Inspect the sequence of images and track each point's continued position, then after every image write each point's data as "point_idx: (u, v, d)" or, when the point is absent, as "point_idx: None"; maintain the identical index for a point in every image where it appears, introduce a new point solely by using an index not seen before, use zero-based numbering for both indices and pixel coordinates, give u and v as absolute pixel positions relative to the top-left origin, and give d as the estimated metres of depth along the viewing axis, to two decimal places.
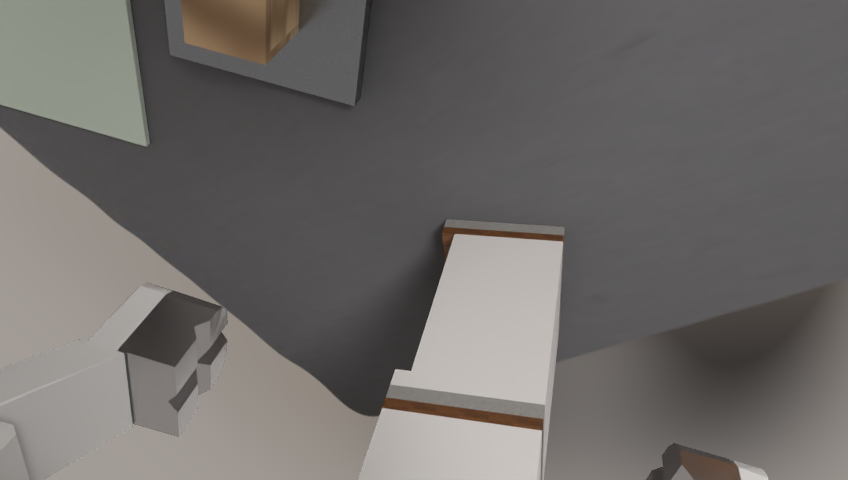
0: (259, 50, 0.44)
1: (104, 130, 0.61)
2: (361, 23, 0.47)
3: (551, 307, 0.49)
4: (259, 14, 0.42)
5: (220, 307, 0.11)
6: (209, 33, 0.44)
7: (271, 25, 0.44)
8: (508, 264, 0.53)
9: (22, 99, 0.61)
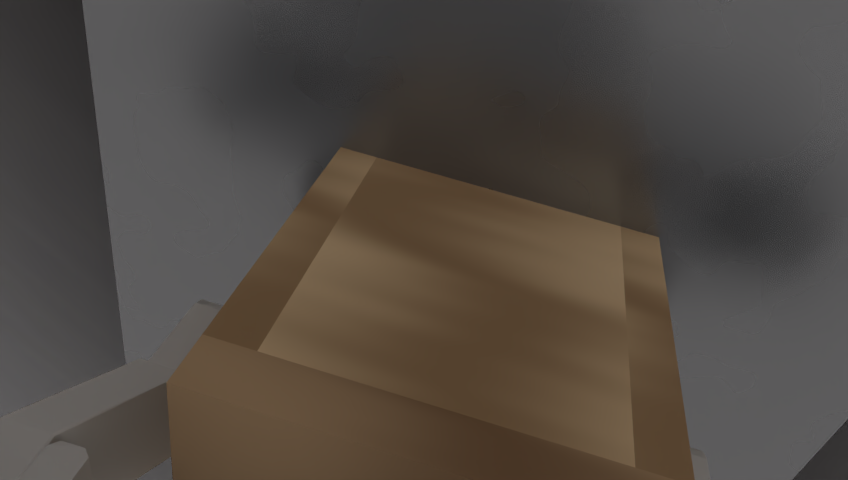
0: None
1: None
2: None
3: None
4: (374, 473, 0.07)
5: None
6: None
7: (483, 411, 0.08)
8: None
9: None
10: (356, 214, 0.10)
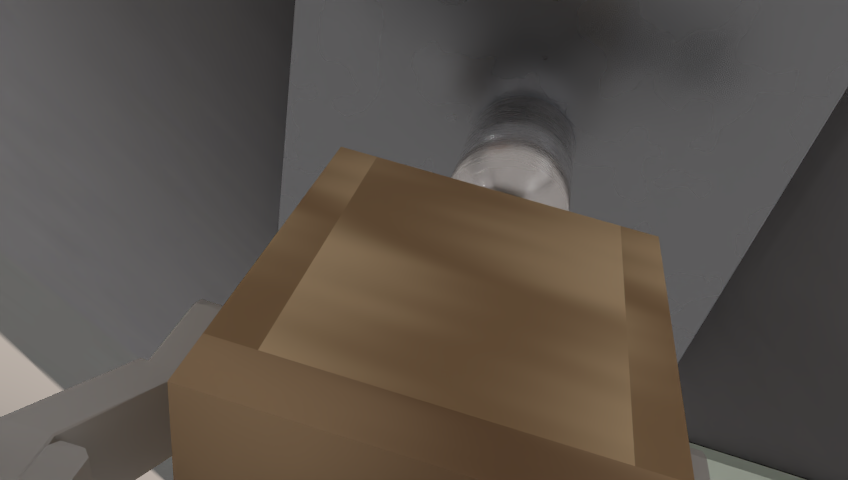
0: None
1: None
2: None
3: None
4: (374, 471, 0.07)
5: None
6: None
7: (484, 410, 0.08)
8: None
9: None
10: (356, 213, 0.10)
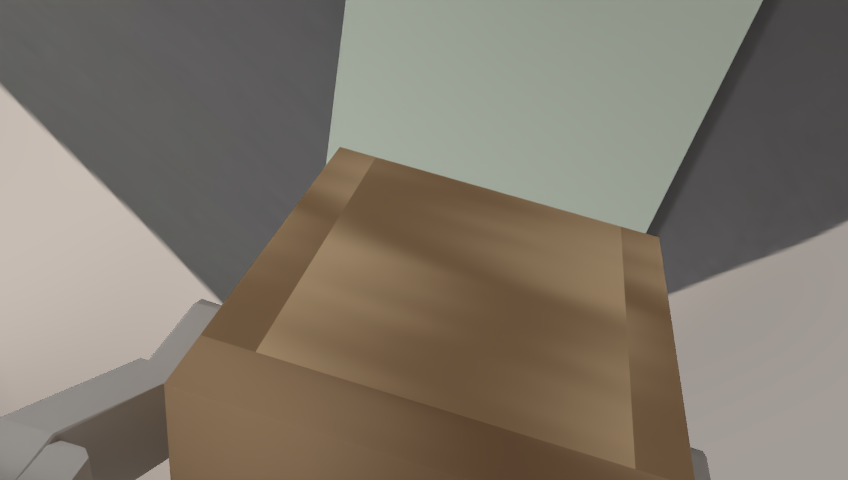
0: None
1: (733, 30, 0.25)
2: None
3: None
4: (372, 474, 0.07)
5: None
6: None
7: (483, 412, 0.08)
8: None
9: (629, 197, 0.30)
10: (355, 214, 0.10)
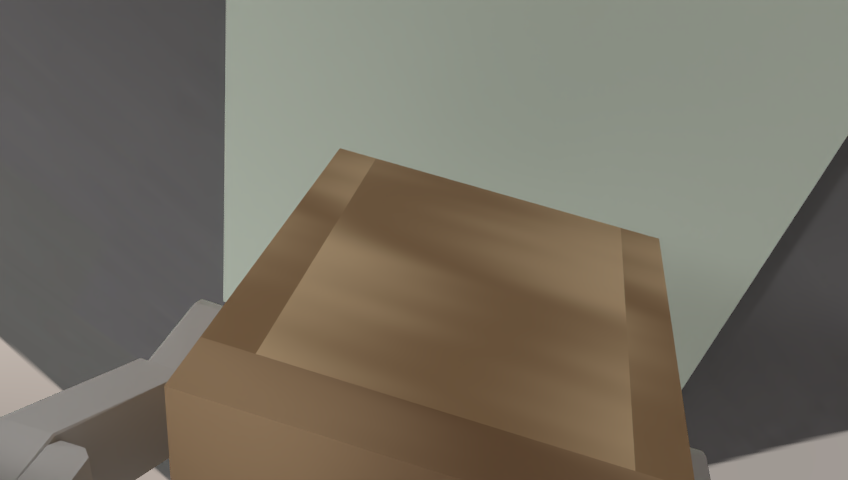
0: None
1: (829, 126, 0.16)
2: None
3: None
4: (372, 475, 0.07)
5: None
6: None
7: (483, 414, 0.08)
8: None
9: None
10: (355, 215, 0.10)
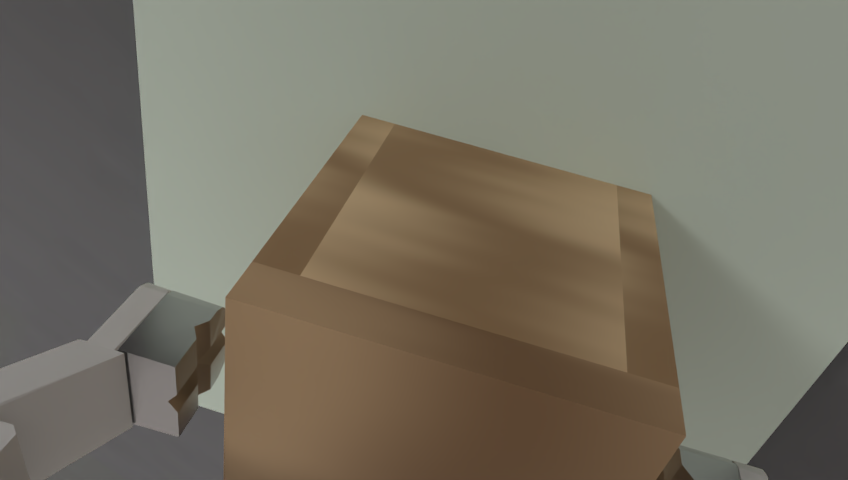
0: (595, 435, 0.08)
1: None
2: None
3: None
4: (403, 375, 0.08)
5: (220, 307, 0.11)
6: None
7: (496, 327, 0.09)
8: None
9: None
10: (379, 170, 0.11)
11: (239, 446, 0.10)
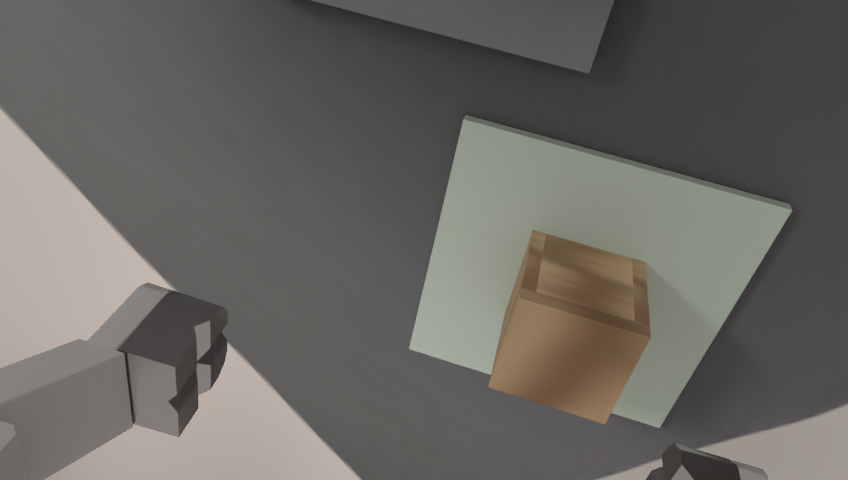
0: (625, 338, 0.29)
1: (740, 277, 0.32)
2: None
3: None
4: (569, 320, 0.29)
5: (220, 307, 0.11)
6: (593, 390, 0.31)
7: (595, 307, 0.29)
8: None
9: (658, 381, 0.37)
10: (546, 254, 0.32)
11: (507, 347, 0.31)
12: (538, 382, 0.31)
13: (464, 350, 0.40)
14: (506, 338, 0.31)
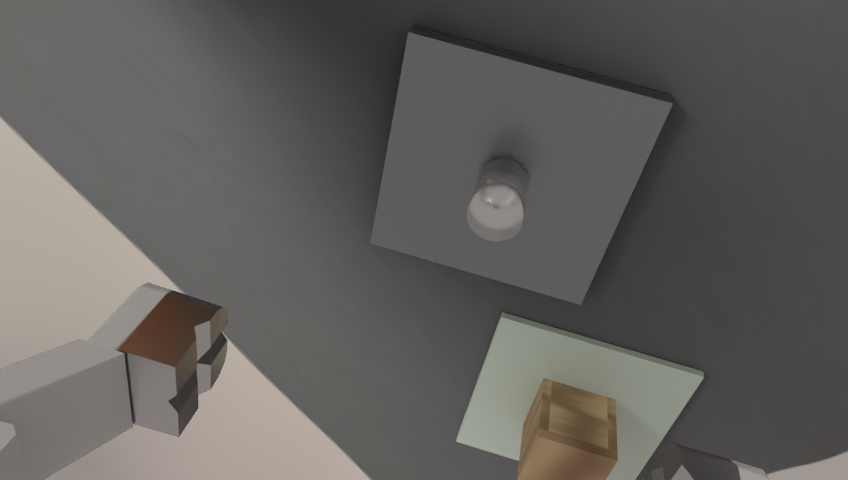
0: (602, 460, 0.48)
1: (674, 410, 0.51)
2: (555, 74, 0.38)
3: None
4: (569, 449, 0.48)
5: (220, 307, 0.11)
6: None
7: (584, 440, 0.48)
8: None
9: (624, 466, 0.56)
10: (553, 399, 0.51)
11: (530, 461, 0.50)
12: None
13: (494, 443, 0.58)
14: (529, 456, 0.49)
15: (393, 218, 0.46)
